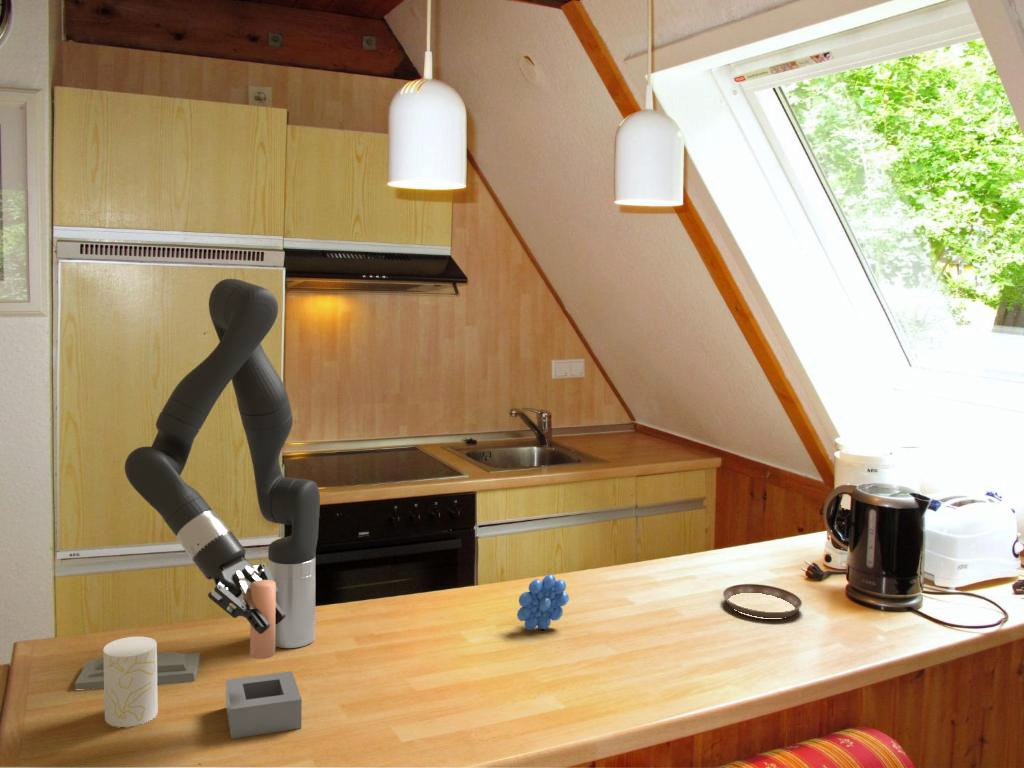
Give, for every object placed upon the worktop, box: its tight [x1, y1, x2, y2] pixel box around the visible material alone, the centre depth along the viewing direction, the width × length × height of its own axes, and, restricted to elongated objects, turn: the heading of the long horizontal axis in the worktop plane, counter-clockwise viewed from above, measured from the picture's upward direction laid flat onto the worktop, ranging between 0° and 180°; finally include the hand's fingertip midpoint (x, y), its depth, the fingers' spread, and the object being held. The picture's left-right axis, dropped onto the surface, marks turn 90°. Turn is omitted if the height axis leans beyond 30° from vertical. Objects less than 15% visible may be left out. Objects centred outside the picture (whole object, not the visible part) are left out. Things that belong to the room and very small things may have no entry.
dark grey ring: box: [722, 583, 803, 618], centre depth 210 cm, size 18×18×3 cm
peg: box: [249, 580, 276, 660], centre depth 149 cm, size 4×4×12 cm
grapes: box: [516, 574, 570, 631], centre depth 193 cm, size 12×7×12 cm, turn 110°
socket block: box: [225, 670, 303, 740], centre depth 151 cm, size 11×11×5 cm
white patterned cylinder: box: [102, 636, 159, 728], centre depth 150 cm, size 8×8×12 cm
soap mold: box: [74, 651, 201, 691], centre depth 166 cm, size 10×20×4 cm, turn 104°
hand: (273, 625), depth 149 cm, fingers closed on peg, 4 cm apart
